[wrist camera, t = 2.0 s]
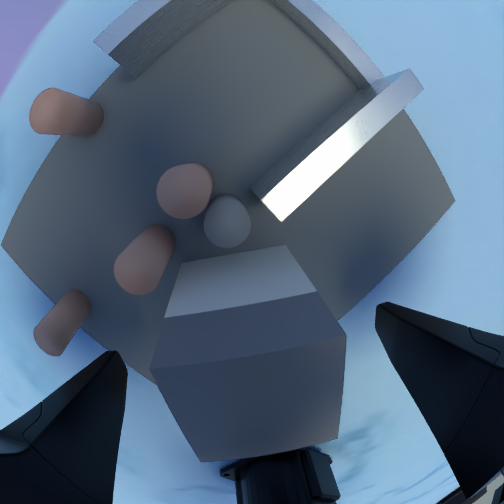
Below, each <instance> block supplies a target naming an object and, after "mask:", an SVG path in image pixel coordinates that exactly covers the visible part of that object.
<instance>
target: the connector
mask: <svg viewBox="0 0 504 504" xmlns="http://www.w3.org/2000/svg"><path fill="white" fill-rule="evenodd" d="M345 354H346V333H345V332H344V330H343V329H342V327H341V326H340V324H339V323H338V321H337V320H336V318H335V317H334V315H333V314H332V312H331V311H330V309H329V308H328V306H327V305H326V303H325V302H324V300H323V299H322V298H321V296H320V295H319V293H318V292H317V290H316V289H315V287H314V286H313V284H312V283H311V281H310V280H309V278H308V277H307V276H306V274H305V273H304V271H303V270H302V268H301V267H300V265H299V264H298V263H297V261H296V260H295V258H294V257H293V255H292V254H291V252H290V251H289V250H288V248H287V247H286V245H281V246H275V247H269V248H263V249H258V250H252V251H246V252H240V253H235V254H229V255H223V256H217V257H212V258H206V259H200V260H194V261H189V262H183V263H182V264H181V267H180V270H179V273H178V276H177V279H176V282H175V285H174V288H173V291H172V294H171V297H170V300H169V304H168V307H167V310H166V313H165V316H164V320H163V323H162V326H161V330H160V333H159V336H158V340H157V343H156V347H155V350H154V354H153V357H152V361H151V365H150V368H149V369H150V371H151V373H152V375H153V377H154V379H155V381H156V383H157V386H158V388H159V390H160V392H161V394H162V395H163V397H164V399H165V401H166V403H167V405H168V407H169V409H170V411H171V413H172V414H173V416H174V418H175V420H176V422H177V423H178V425H179V427H180V429H181V431H182V432H183V434H184V436H185V437H186V439H187V441H188V442H189V444H190V446H191V447H192V449H193V451H194V452H195V454H196V455H197V457H198V458H199V460H200V462H212V461H224V460H234V459H242V458H250V457H256V456H263V455H269V454H274V453H280V452H285V451H290V450H295V449H299V448H303V447H308V446H312V445H316V444H320V443H323V442H327V441H331V440H334V439H337V438H338V431H339V423H340V414H341V405H342V395H343V383H344V370H345Z"/></svg>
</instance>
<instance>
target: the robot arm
mask: <svg viewBox="0 0 504 504" xmlns="http://www.w3.org/2000/svg"><path fill="white" fill-rule="evenodd" d="M375 329H376V332H377V334H378V336H379V338H380V340H381V342H382V344H383V346H384V348H385V350H386V352H387V355H388V357H389V359H390V361H391V363H392V364H393V366H394V368H395V370H396V371H397V373H398V374H399V376H400V378H401V379H402V381H403V383H404V384H405V386H406V388H407V389H408V391H409V393H410V394H411V396H412V398H413V399H414V401H415V403H416V405H417V406H418V408H419V410H420V411H421V413H422V415H423V417H424V418H425V420H426V422H427V424H428V426H429V427H430V429H431V431H432V433H433V435H434V436H435V438H436V440H437V442H438V444H439V446H440V447H441V449H442V451H443V453H445V454H444V455H445V457H446V459H447V461H448V463H449V465H450V467H451V469H452V471H453V473H454V475H455V477H456V479H457V481H458V483H459V485H460V487H461V489H462V491H463V493H464V495H465V497H466V499H467V500H468V499H469V498H471V497H472V496H474V495H475V494H476V493H478V492H479V491H480V490H482V489H483V488H484V487H486V486H487V485H488V484H490V483H491V482H492V481H493V480H495V479H496V478H497V477H498V476H499V475H501V474H503V476H504V336H501V335H496V334H492V333H488V332H484V331H481V330H477V329H474V328H471V327H467V326H464V325H461V324H458V323H454V322H451V321H448V320H445V319H441V318H438V317H435V316H432V315H428V314H425V313H422V312H419V311H416V310H412V309H409V308H406V307H403V306H400V305H396V304H393V303H390V302H385V303H381V304H378V305H377V307H376V317H375ZM127 376H128V372H127V368H126V366H125V364H124V362H123V360H122V358H121V356H120V354H119V352H118V351H116V350H113V351H106V352H105V353H103V354H102V355H101V356H99V357H98V358H97V359H95V360H94V361H93V362H92V363H90V364H89V365H88V366H86V367H85V368H84V369H82V370H81V371H80V372H79V373H77V374H76V375H75V376H73V377H72V378H71V379H69V380H68V381H67V382H66V383H64V384H63V385H62V386H60V387H59V388H58V389H57V390H55V391H54V392H53V393H51V394H50V395H49V396H48V397H46V398H45V399H44V400H43V401H42V402H40V403H39V404H37V405H36V406H35V407H33V408H32V409H31V410H29V411H28V412H27V413H25V414H24V415H23V416H21V417H20V418H18V419H17V420H15V421H14V422H12V423H11V424H9V425H8V426H6V427H5V428H3V429H2V430H0V504H112V503H113V491H114V481H115V472H116V464H117V456H118V449H119V442H120V436H121V429H122V423H123V418H124V411H125V401H126V388H127ZM331 463H332V459H331V457H328V456H326V455H323V454H320V453H318V452H315V451H313V450H310V449H308V448H305V447H303V448H299V449H295V450H290V451H285V452H280V453H274V454H269V455H263V456H256V457H250V458H245V459H243V460H241V461H239V462H236V463H234V464H232V465H230V466H228V467H225V468H223V469H221V470H220V476H221V477H224V478H227V479H230V480H233V481H235V485H236V496H237V504H336V500H338V499H339V498H340V493H339V490H338V487H337V484H336V481H335V478H334V475H333V472H332V469H331V467H330V464H331ZM492 504H504V483H503V484H502V485H501V486H500V487H499V488H498V489H496V490H495V493H494V497H493V501H492Z"/></svg>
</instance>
